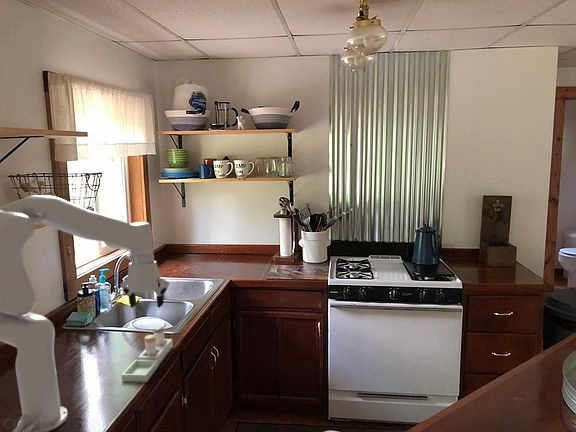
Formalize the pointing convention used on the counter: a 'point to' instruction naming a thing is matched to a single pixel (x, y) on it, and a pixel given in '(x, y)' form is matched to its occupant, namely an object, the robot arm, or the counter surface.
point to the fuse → (159, 335)
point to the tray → (140, 371)
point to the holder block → (158, 352)
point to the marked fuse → (150, 345)
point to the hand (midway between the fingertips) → (146, 306)
